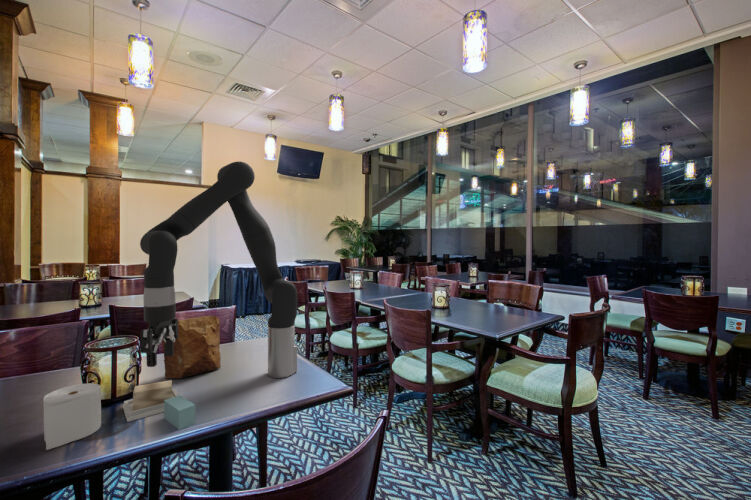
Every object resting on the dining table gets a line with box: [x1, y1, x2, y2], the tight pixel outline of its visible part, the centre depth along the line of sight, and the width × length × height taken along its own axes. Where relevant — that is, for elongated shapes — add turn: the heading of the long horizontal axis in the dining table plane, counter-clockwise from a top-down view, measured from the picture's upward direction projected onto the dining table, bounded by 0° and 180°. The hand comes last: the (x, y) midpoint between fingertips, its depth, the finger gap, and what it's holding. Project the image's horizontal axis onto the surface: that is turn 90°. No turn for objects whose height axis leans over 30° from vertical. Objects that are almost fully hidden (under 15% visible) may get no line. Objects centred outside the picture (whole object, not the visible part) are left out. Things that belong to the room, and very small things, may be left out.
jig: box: [122, 388, 180, 423], centre depth 98 cm, size 13×10×2 cm
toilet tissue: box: [42, 382, 102, 451], centre depth 85 cm, size 11×12×10 cm
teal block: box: [163, 394, 197, 431], centre depth 91 cm, size 4×9×5 cm, turn 52°
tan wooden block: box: [132, 379, 173, 411], centre depth 98 cm, size 9×5×5 cm, turn 120°
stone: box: [161, 315, 222, 380], centre depth 123 cm, size 19×11×20 cm, turn 122°
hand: (161, 360), depth 97 cm, fingers open, 8 cm apart
